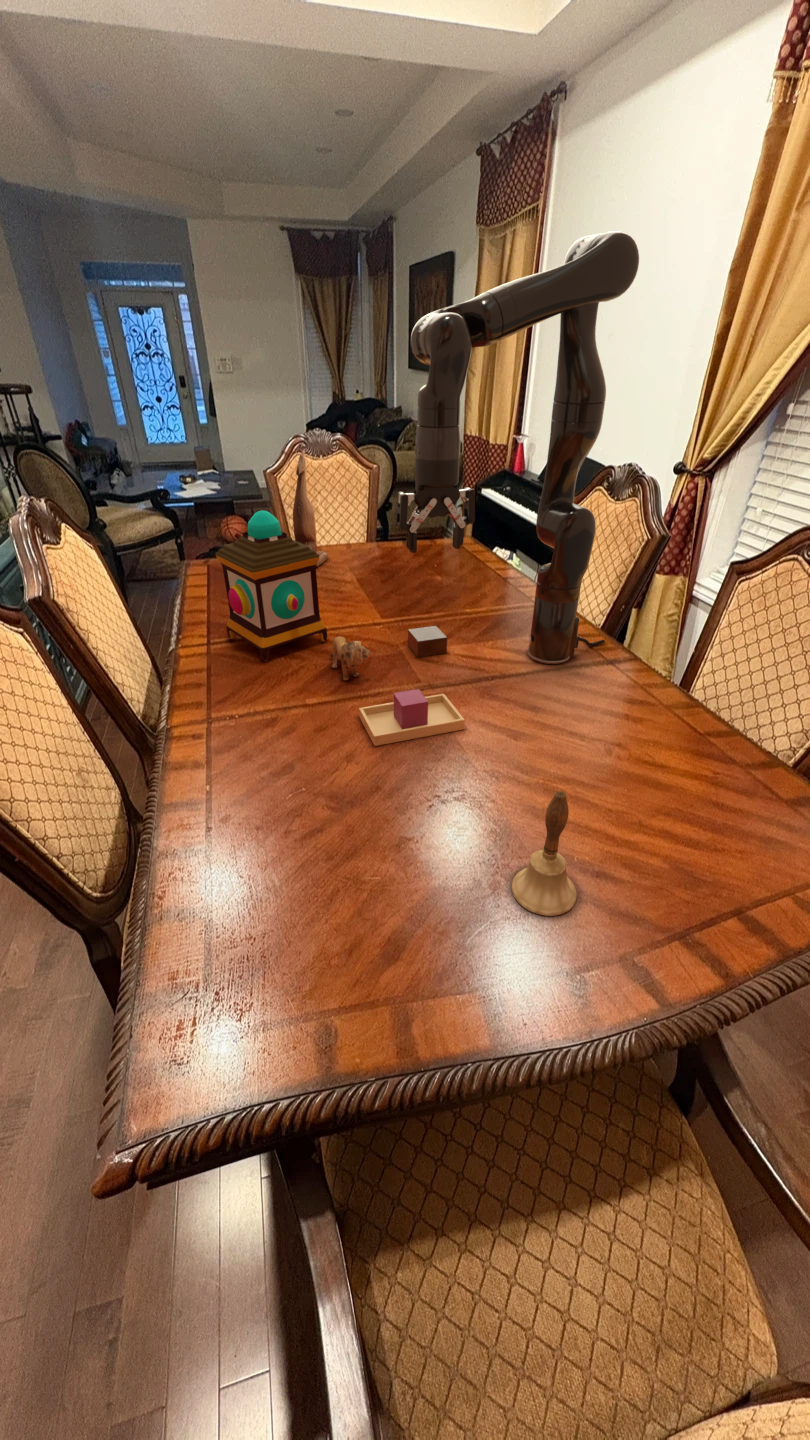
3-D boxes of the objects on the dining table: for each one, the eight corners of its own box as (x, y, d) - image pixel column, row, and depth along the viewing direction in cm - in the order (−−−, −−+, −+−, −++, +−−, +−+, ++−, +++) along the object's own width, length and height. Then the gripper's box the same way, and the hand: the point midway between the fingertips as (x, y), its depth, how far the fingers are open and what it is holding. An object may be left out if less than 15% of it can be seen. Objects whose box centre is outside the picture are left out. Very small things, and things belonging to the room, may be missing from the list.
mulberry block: (418, 711, 116) (418, 688, 113) (427, 724, 112) (428, 701, 109) (393, 716, 115) (393, 693, 112) (402, 729, 111) (402, 706, 108)
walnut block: (435, 641, 144) (436, 625, 142) (446, 653, 139) (447, 637, 137) (407, 645, 142) (407, 629, 140) (417, 657, 137) (418, 641, 135)
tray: (443, 702, 120) (443, 693, 119) (464, 729, 112) (464, 719, 111) (359, 717, 115) (359, 707, 114) (374, 746, 107) (374, 736, 106)
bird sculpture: (284, 566, 191) (272, 457, 174) (295, 555, 201) (286, 451, 184) (318, 568, 190) (310, 458, 173) (328, 557, 199) (321, 452, 182)
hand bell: (505, 869, 82) (516, 775, 74) (564, 865, 83) (583, 772, 74) (520, 918, 75) (535, 821, 67) (585, 914, 76) (608, 817, 67)
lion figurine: (373, 681, 127) (372, 642, 123) (351, 688, 125) (349, 648, 120) (340, 655, 138) (338, 618, 133) (319, 661, 135) (316, 623, 130)
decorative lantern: (261, 667, 133) (242, 528, 117) (219, 638, 145) (196, 509, 129) (336, 641, 144) (327, 511, 128) (291, 617, 157) (278, 495, 141)
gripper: (404, 460, 98) (404, 559, 106) (485, 455, 102) (478, 552, 110) (390, 453, 104) (391, 547, 113) (467, 449, 108) (462, 541, 116)
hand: (434, 549), depth 111 cm, fingers open, 8 cm apart
